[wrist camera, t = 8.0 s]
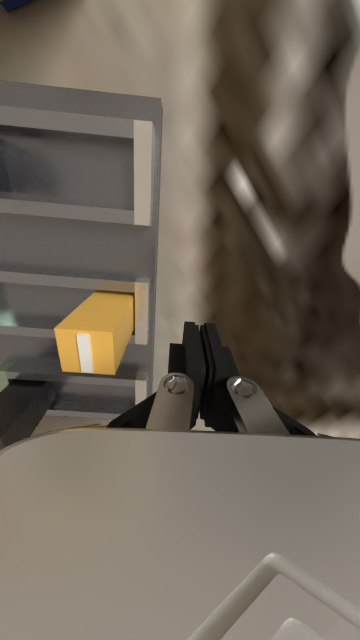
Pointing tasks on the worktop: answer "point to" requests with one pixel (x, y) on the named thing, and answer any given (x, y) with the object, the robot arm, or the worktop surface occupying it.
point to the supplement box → (12, 4)
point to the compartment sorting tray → (74, 244)
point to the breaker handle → (96, 333)
